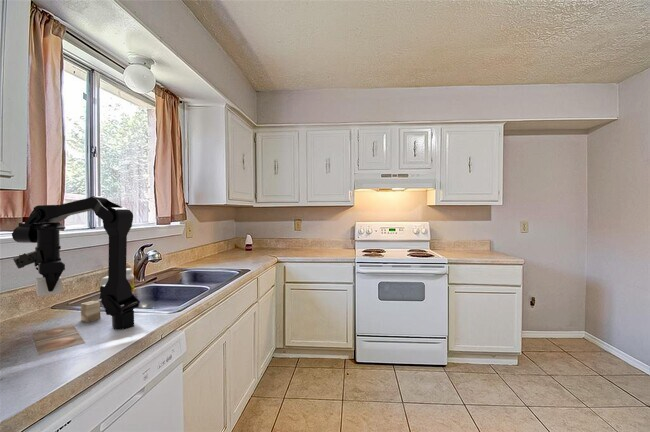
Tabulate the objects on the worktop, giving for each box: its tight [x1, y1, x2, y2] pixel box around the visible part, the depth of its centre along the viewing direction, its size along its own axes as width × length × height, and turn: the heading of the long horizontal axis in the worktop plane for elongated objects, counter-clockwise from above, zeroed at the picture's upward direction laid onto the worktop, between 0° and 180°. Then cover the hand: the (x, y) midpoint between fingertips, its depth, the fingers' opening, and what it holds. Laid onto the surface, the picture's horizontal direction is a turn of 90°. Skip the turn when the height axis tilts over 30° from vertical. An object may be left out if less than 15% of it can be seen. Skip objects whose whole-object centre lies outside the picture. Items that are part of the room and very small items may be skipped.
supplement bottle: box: [126, 267, 135, 296], centre depth 142 cm, size 7×7×13 cm
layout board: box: [31, 323, 86, 355], centre depth 96 cm, size 22×10×1 cm, turn 46°
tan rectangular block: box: [80, 300, 101, 323], centre depth 111 cm, size 4×4×7 cm
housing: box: [35, 276, 63, 297], centre depth 107 cm, size 6×6×5 cm
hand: (49, 289), depth 107 cm, fingers closed on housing, 6 cm apart
